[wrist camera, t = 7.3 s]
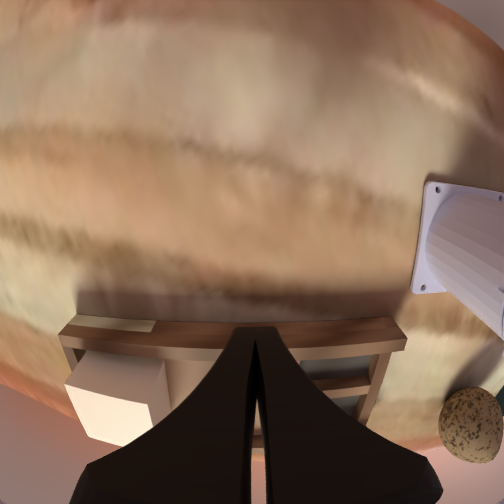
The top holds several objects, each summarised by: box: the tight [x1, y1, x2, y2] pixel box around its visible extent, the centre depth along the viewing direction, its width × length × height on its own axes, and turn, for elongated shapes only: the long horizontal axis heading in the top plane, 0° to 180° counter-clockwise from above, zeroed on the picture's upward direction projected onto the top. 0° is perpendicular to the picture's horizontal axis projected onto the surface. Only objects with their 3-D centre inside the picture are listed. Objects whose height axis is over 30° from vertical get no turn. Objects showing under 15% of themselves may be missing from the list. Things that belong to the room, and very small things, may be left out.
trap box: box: [58, 314, 407, 454], centre depth 20 cm, size 24×12×3 cm, turn 90°
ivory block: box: [64, 350, 171, 446], centre depth 18 cm, size 6×6×4 cm
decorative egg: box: [438, 387, 503, 463], centre depth 19 cm, size 7×7×10 cm
